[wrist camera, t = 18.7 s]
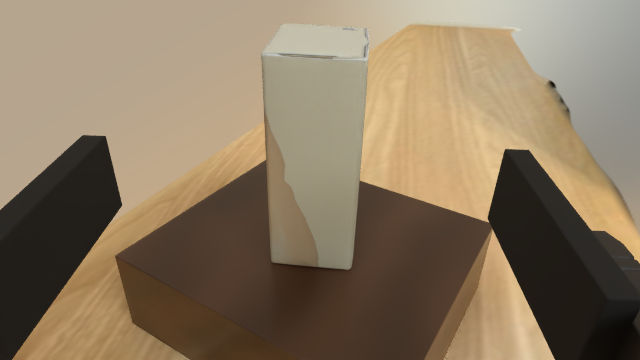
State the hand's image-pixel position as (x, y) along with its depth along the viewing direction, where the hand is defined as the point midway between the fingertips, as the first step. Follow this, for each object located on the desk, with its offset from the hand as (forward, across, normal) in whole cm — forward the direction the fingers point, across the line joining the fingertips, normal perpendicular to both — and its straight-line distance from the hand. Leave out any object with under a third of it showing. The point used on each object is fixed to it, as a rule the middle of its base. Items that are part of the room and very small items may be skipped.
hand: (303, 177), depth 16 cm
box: (+7, 0, -8) cm, 11 cm away
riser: (+7, 0, -13) cm, 15 cm away
